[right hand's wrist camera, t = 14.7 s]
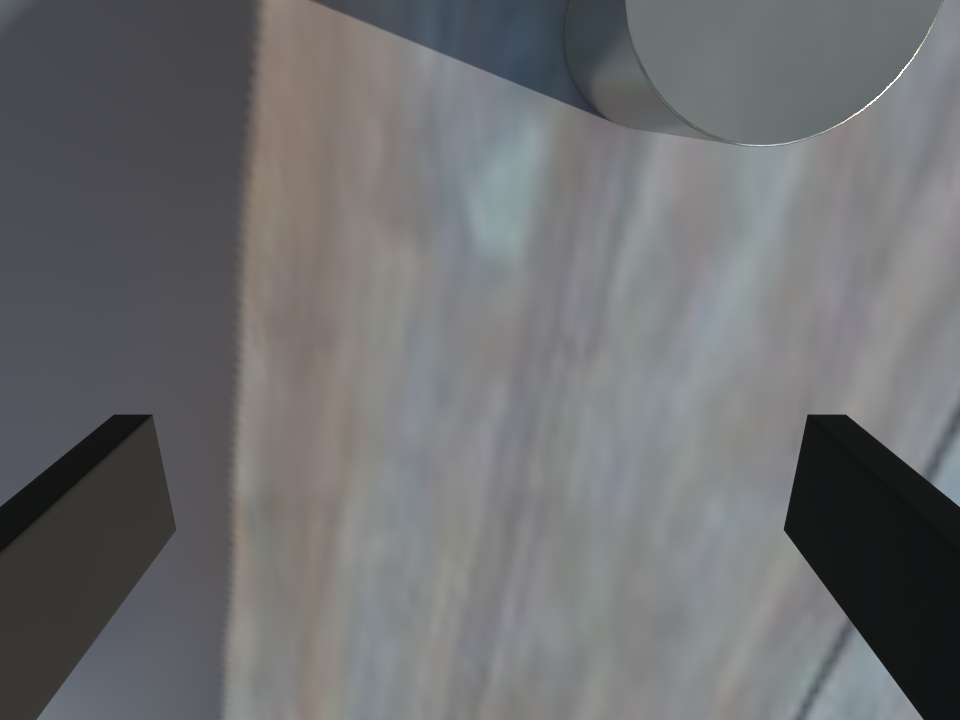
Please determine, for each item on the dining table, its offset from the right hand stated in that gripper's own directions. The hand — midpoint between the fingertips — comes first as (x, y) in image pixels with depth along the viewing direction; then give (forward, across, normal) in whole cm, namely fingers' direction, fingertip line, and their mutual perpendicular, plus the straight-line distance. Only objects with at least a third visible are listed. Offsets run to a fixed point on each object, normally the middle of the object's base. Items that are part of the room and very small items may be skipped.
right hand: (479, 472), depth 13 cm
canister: (+14, -6, -10) cm, 19 cm away
